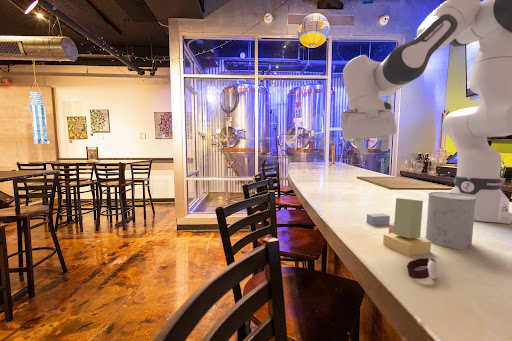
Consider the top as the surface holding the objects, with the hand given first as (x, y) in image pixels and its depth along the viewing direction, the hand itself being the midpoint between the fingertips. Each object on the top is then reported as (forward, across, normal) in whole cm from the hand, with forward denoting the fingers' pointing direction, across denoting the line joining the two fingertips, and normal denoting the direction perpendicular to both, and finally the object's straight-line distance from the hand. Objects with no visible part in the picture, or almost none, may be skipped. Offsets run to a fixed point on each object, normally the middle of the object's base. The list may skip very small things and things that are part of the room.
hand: (375, 152), depth 73 cm
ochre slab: (+26, -9, -10) cm, 29 cm away
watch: (+27, -18, -18) cm, 37 cm away
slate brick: (+23, +2, +6) cm, 24 cm away
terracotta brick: (+25, -1, -3) cm, 25 cm away
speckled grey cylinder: (+27, +5, -11) cm, 30 cm away
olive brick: (+22, -9, -10) cm, 26 cm away
